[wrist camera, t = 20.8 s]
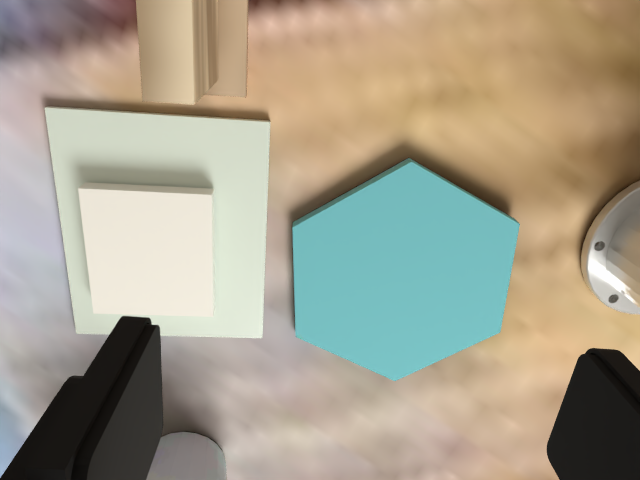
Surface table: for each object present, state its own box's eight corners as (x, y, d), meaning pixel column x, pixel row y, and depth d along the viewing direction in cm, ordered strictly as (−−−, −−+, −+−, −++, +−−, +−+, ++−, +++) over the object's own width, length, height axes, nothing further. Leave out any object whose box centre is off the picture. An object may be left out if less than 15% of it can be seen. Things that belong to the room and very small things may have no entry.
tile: (211, 194, 35) (77, 188, 34) (213, 316, 39) (93, 313, 38) (214, 187, 37) (86, 181, 36) (215, 305, 41) (100, 302, 40)
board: (270, 120, 35) (270, 122, 35) (262, 333, 43) (262, 338, 42) (48, 106, 34) (44, 107, 33) (78, 329, 41) (76, 333, 41)
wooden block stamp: (248, -19, 32) (233, -35, 22) (246, 95, 35) (232, 128, 24) (151, -28, 31) (89, -48, 21) (157, 88, 34) (104, 120, 24)
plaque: (342, 388, 47) (545, 295, 44) (344, 404, 45) (555, 308, 42) (239, 245, 40) (469, 120, 37) (236, 256, 39) (478, 126, 35)
